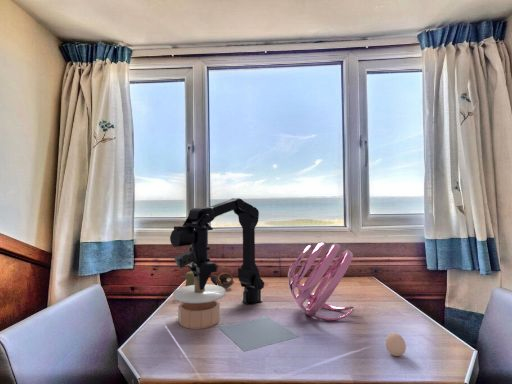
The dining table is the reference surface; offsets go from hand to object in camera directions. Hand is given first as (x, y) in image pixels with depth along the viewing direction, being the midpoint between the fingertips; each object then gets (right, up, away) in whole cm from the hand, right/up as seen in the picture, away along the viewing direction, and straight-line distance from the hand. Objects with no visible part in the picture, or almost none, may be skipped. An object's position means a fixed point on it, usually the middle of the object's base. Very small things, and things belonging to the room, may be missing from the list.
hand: (199, 288), depth 109 cm
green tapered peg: (-9, -13, +28) cm, 32 cm away
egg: (+58, -11, -24) cm, 64 cm away
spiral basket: (+44, -12, +7) cm, 46 cm away
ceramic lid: (0, -2, 0) cm, 2 cm away
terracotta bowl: (0, -12, 0) cm, 12 cm away
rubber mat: (+20, -11, -10) cm, 25 cm away
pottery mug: (+3, -13, +42) cm, 44 cm away
